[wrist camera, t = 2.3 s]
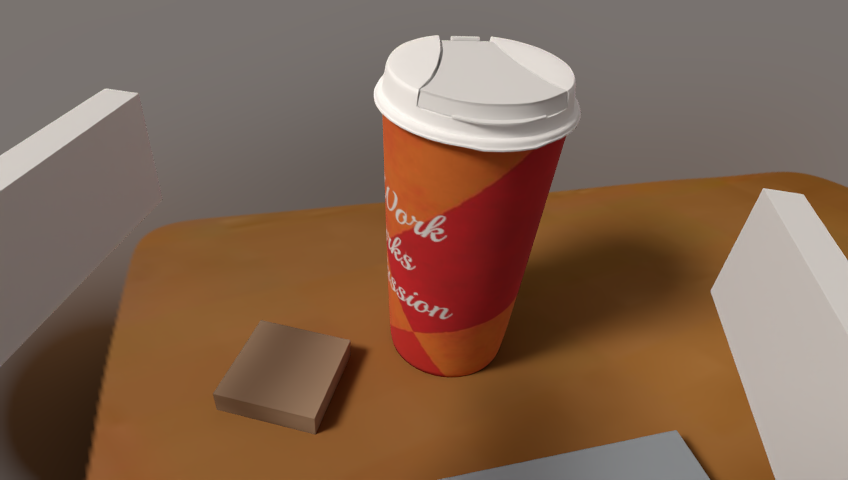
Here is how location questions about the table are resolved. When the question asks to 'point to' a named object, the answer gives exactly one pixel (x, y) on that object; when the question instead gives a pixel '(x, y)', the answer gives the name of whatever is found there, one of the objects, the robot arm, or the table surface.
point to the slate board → (607, 463)
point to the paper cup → (466, 188)
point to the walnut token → (284, 376)
